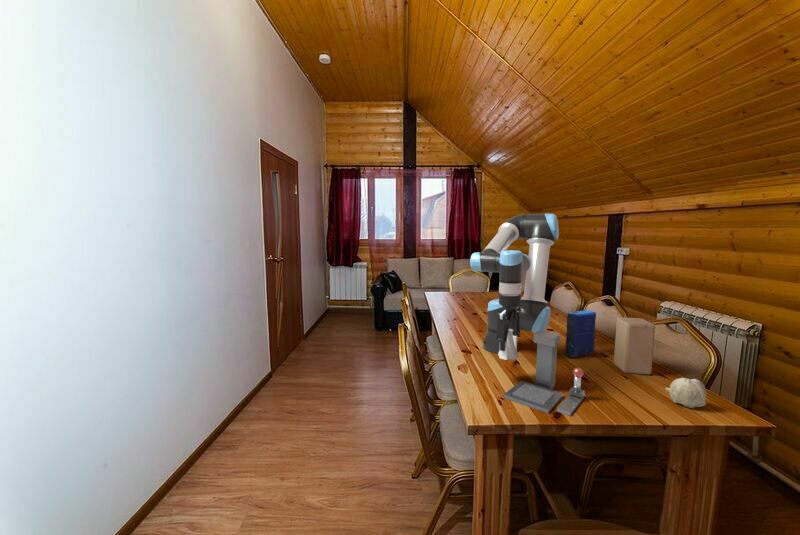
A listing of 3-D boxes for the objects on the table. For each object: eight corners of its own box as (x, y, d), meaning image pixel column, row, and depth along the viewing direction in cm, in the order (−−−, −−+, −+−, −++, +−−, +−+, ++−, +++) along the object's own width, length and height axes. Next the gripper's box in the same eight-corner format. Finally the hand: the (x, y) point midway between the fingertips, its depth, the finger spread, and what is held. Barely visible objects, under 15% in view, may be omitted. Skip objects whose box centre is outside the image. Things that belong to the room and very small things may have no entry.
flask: (518, 354, 125) (519, 328, 123) (518, 361, 118) (519, 334, 117) (498, 351, 127) (499, 326, 126) (497, 359, 120) (497, 332, 119)
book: (572, 359, 144) (575, 313, 142) (562, 355, 149) (564, 311, 147) (595, 354, 150) (598, 310, 148) (584, 350, 155) (586, 308, 153)
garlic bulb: (701, 413, 105) (719, 387, 103) (691, 417, 101) (710, 390, 98) (668, 393, 113) (684, 368, 110) (658, 395, 108) (674, 369, 105)
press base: (503, 397, 110) (505, 341, 108) (528, 378, 125) (530, 328, 123) (566, 420, 97) (570, 356, 95) (585, 395, 112) (589, 339, 110)
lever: (569, 393, 110) (570, 368, 109) (572, 390, 113) (573, 364, 112) (581, 397, 108) (582, 371, 107) (584, 393, 110) (585, 367, 109)
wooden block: (652, 375, 128) (656, 324, 126) (623, 373, 130) (627, 322, 128) (639, 365, 138) (643, 317, 136) (612, 363, 140) (615, 316, 138)
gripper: (507, 300, 110) (505, 367, 113) (531, 290, 124) (529, 350, 127) (486, 297, 115) (485, 361, 118) (511, 288, 129) (510, 345, 132)
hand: (508, 355), depth 122 cm, fingers closed on flask, 7 cm apart
